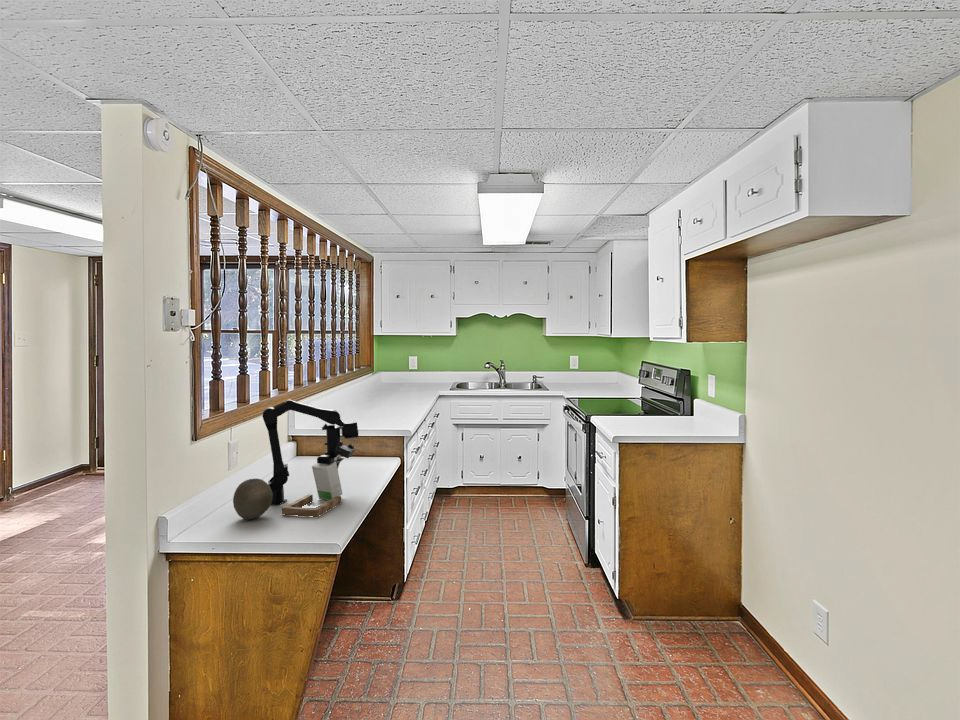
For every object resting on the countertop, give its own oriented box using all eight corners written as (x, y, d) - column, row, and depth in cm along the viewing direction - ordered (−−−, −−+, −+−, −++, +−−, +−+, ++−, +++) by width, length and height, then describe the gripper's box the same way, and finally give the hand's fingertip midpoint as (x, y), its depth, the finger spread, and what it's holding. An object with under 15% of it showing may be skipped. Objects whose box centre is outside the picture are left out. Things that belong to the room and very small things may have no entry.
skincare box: (318, 499, 257) (310, 466, 253) (329, 491, 263) (320, 458, 258) (334, 501, 253) (325, 468, 249) (344, 493, 259) (336, 460, 254)
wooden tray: (317, 517, 232) (316, 510, 231) (281, 515, 235) (281, 507, 235) (341, 503, 250) (341, 496, 250) (308, 501, 254) (308, 494, 254)
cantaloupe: (231, 526, 224) (230, 485, 223) (235, 515, 237) (234, 476, 236) (272, 522, 227) (271, 482, 227) (274, 511, 241) (272, 473, 240)
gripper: (340, 444, 249) (341, 482, 250) (360, 436, 267) (361, 471, 268) (315, 443, 252) (316, 480, 252) (337, 435, 270) (338, 470, 270)
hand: (334, 475), depth 261 cm, fingers closed
